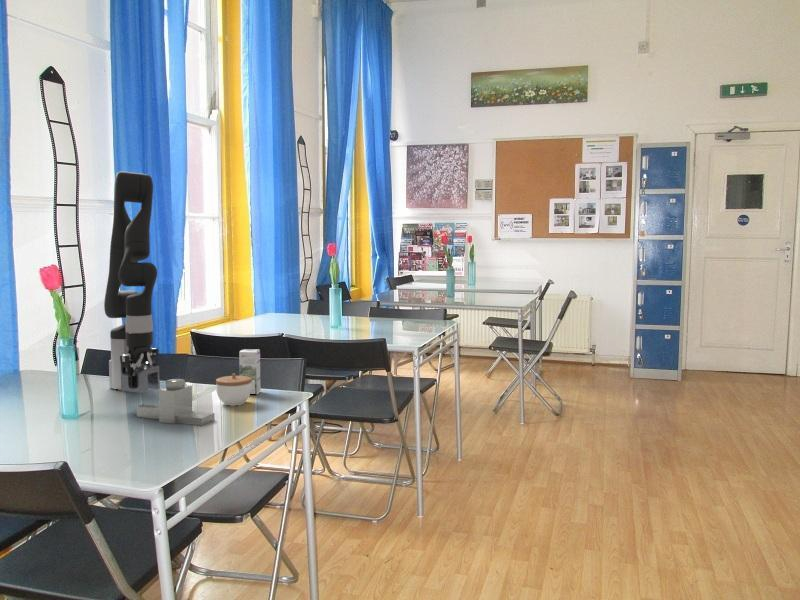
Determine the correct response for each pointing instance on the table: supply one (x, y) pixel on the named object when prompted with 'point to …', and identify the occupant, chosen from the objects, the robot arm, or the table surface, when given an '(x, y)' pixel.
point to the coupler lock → (143, 379)
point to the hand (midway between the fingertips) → (140, 385)
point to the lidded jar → (233, 389)
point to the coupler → (175, 406)
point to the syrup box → (251, 367)
